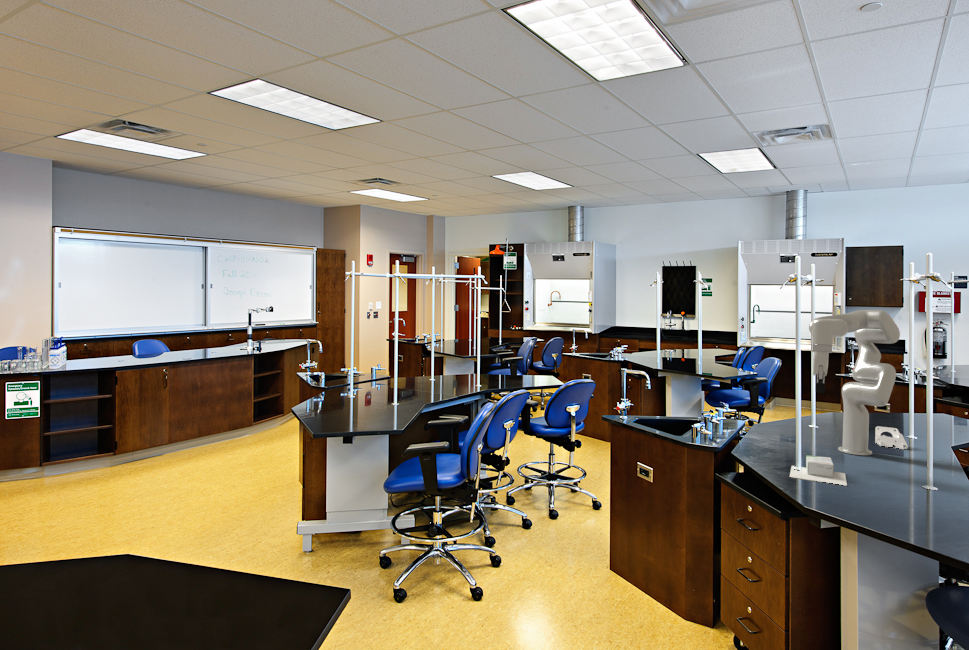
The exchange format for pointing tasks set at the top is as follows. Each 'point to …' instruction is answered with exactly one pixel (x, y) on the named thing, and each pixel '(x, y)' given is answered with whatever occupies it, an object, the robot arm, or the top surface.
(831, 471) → the ink box
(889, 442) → the mounting bracket
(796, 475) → the bench mat
